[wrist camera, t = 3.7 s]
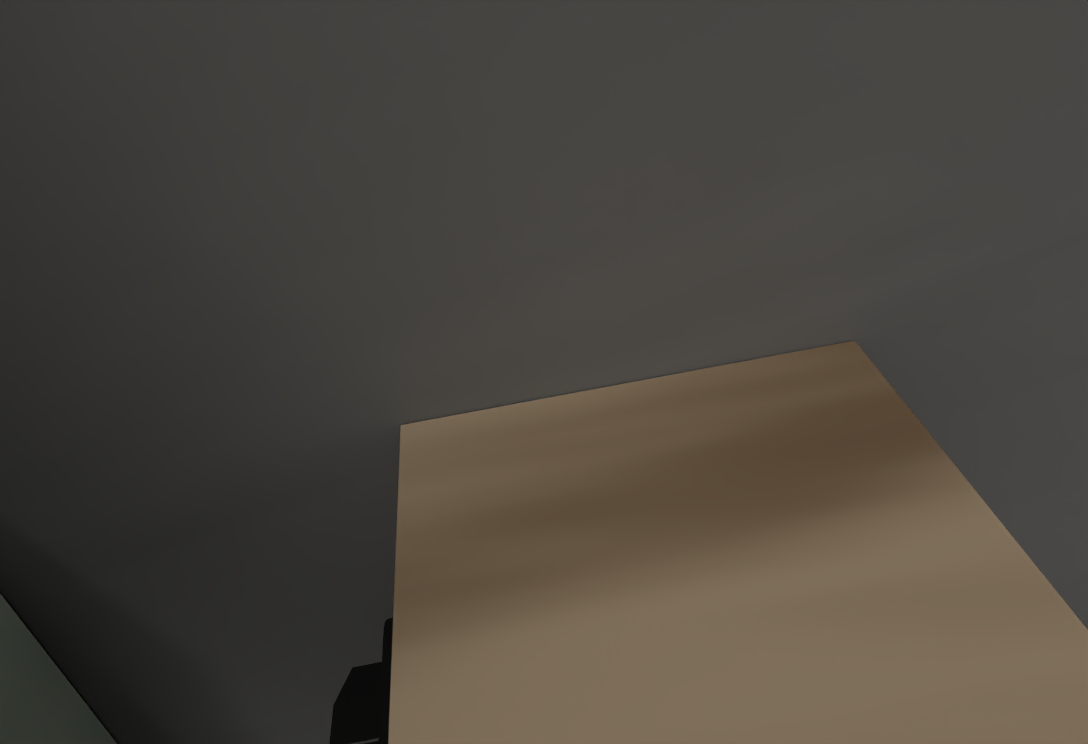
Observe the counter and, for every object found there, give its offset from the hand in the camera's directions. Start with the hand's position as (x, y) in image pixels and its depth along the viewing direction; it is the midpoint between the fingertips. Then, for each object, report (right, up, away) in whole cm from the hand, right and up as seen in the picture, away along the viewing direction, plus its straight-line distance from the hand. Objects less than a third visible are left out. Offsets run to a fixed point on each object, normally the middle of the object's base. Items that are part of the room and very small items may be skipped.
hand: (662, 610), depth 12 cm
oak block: (0, +1, +1) cm, 1 cm away
